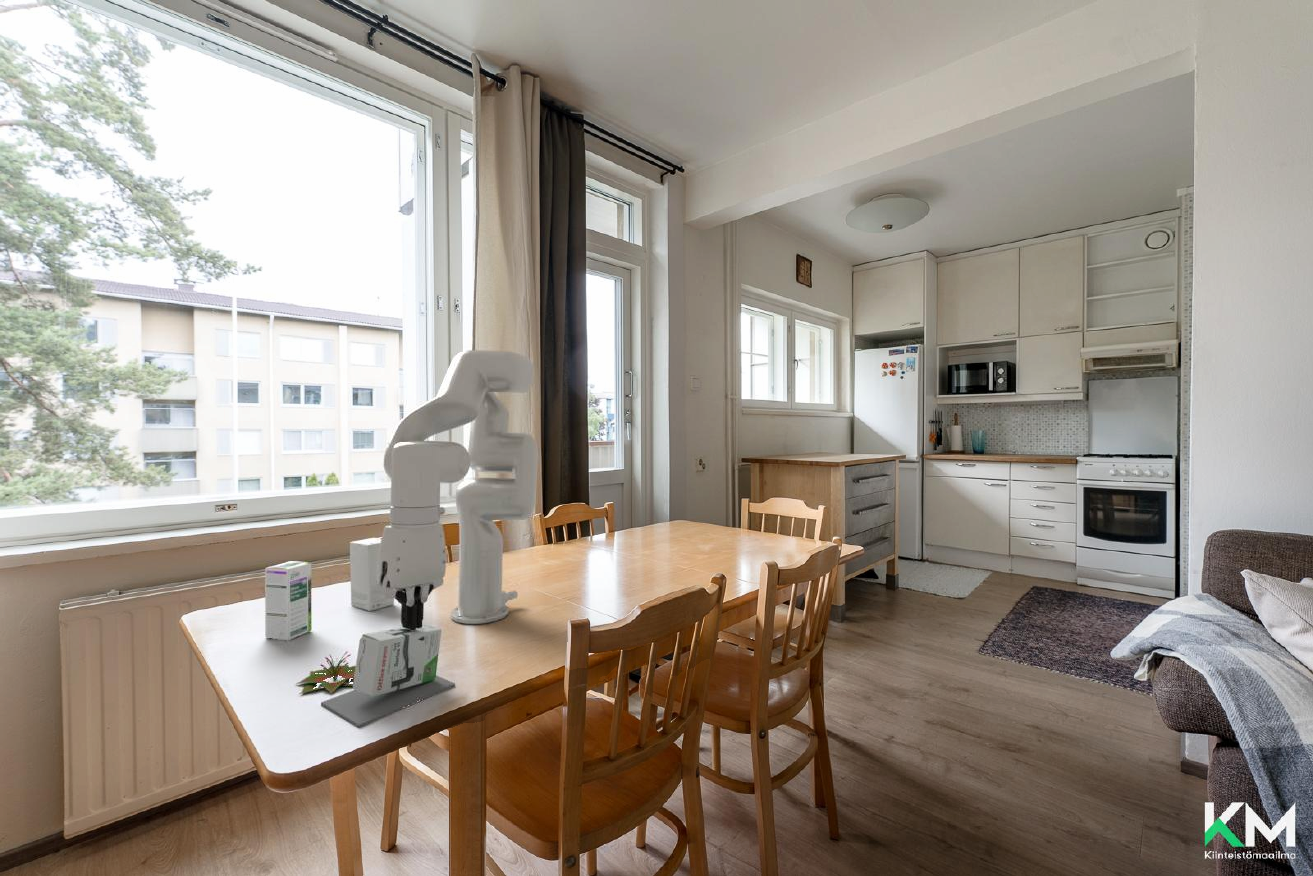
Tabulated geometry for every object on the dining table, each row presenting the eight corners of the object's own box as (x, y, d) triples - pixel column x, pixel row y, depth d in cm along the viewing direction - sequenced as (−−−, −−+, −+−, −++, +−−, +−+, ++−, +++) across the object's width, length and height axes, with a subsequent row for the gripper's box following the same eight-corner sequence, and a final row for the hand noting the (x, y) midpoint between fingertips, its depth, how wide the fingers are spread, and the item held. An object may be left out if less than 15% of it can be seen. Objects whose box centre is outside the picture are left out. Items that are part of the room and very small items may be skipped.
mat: (416, 668, 98) (416, 666, 98) (455, 686, 92) (455, 683, 92) (320, 705, 85) (321, 702, 85) (359, 727, 79) (359, 725, 79)
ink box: (436, 680, 93) (370, 700, 83) (417, 673, 95) (351, 691, 85) (443, 627, 94) (378, 640, 84) (423, 622, 96) (359, 634, 86)
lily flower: (301, 673, 97) (301, 647, 97) (377, 663, 101) (378, 638, 101) (285, 704, 86) (285, 675, 86) (371, 692, 90) (372, 664, 90)
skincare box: (394, 605, 133) (395, 540, 132) (367, 612, 127) (368, 545, 127) (374, 598, 137) (375, 536, 137) (348, 605, 132) (348, 540, 131)
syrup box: (288, 641, 109) (289, 568, 109) (263, 638, 110) (264, 566, 110) (312, 631, 115) (313, 562, 115) (288, 628, 116) (288, 560, 116)
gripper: (440, 510, 100) (437, 612, 100) (357, 518, 87) (354, 635, 87) (467, 514, 96) (464, 620, 96) (384, 523, 83) (381, 645, 83)
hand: (412, 627), depth 91 cm, fingers closed
